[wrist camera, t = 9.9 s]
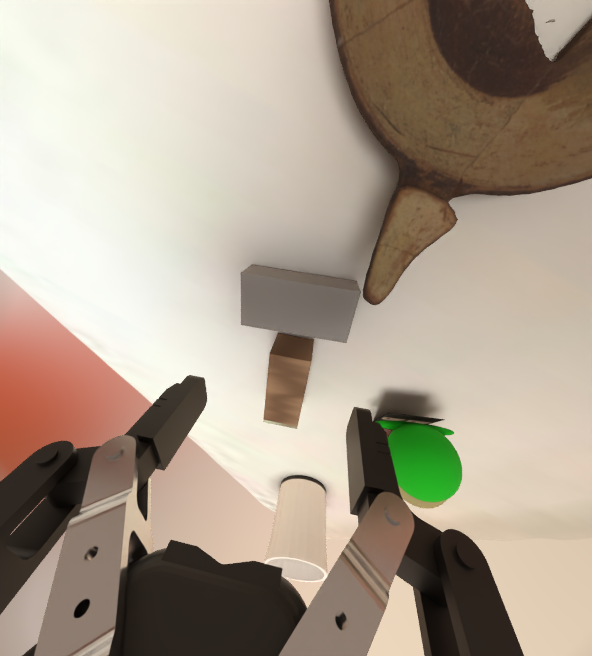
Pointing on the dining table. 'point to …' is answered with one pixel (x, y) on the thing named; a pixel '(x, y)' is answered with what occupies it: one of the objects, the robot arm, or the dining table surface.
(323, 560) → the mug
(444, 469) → the toy
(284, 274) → the hammer head
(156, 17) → the dining table surface
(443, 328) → the dining table surface
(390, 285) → the oil lamp
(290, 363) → the block
